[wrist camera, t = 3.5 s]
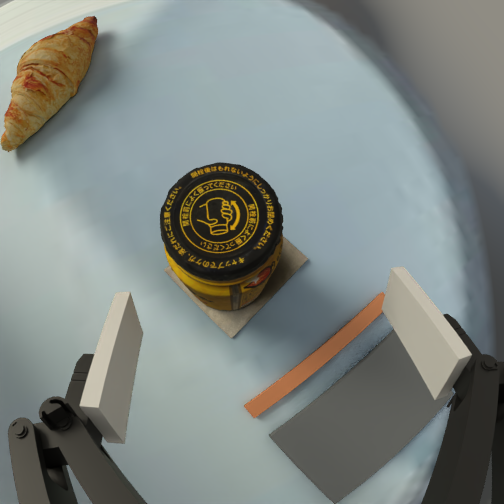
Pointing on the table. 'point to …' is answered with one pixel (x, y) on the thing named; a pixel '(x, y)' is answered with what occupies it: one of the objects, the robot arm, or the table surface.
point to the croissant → (47, 80)
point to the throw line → (316, 358)
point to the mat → (360, 420)
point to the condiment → (227, 242)
